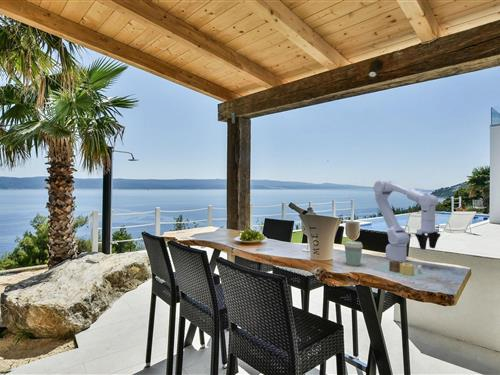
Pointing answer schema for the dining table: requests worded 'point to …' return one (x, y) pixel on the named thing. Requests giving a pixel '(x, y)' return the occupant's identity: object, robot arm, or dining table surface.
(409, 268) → the pale yellow block
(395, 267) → the gear
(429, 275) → the gear board
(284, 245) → the dining table surface
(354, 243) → the coffee cup
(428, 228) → the robot arm
